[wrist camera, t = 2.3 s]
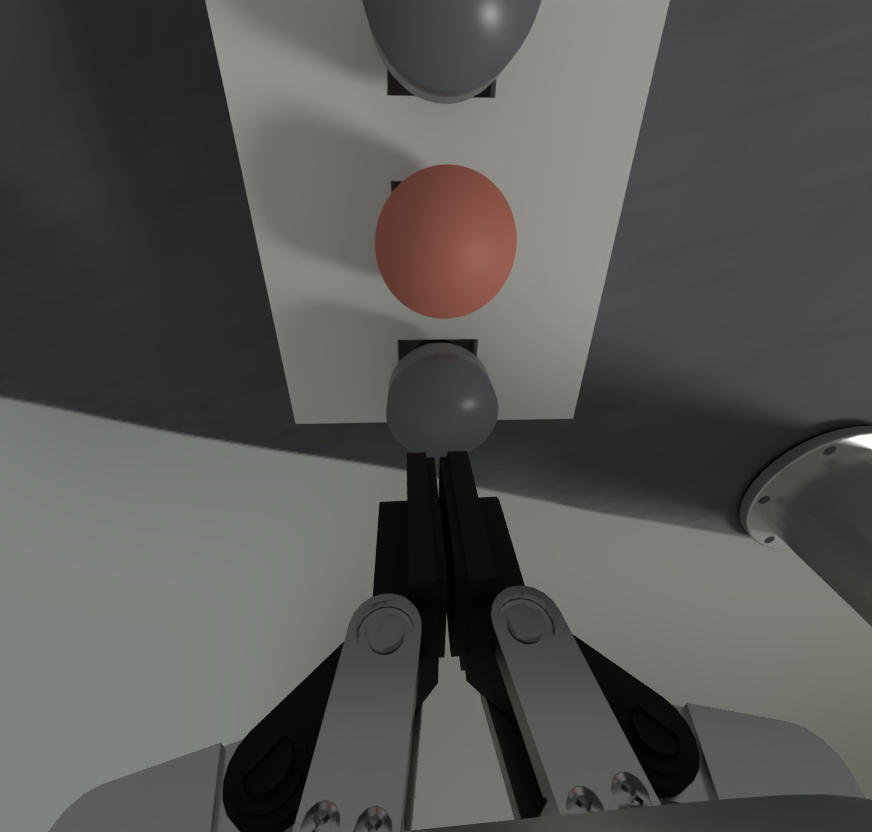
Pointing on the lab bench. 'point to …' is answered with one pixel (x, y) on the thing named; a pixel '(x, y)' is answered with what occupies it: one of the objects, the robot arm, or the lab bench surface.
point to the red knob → (445, 241)
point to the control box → (415, 150)
